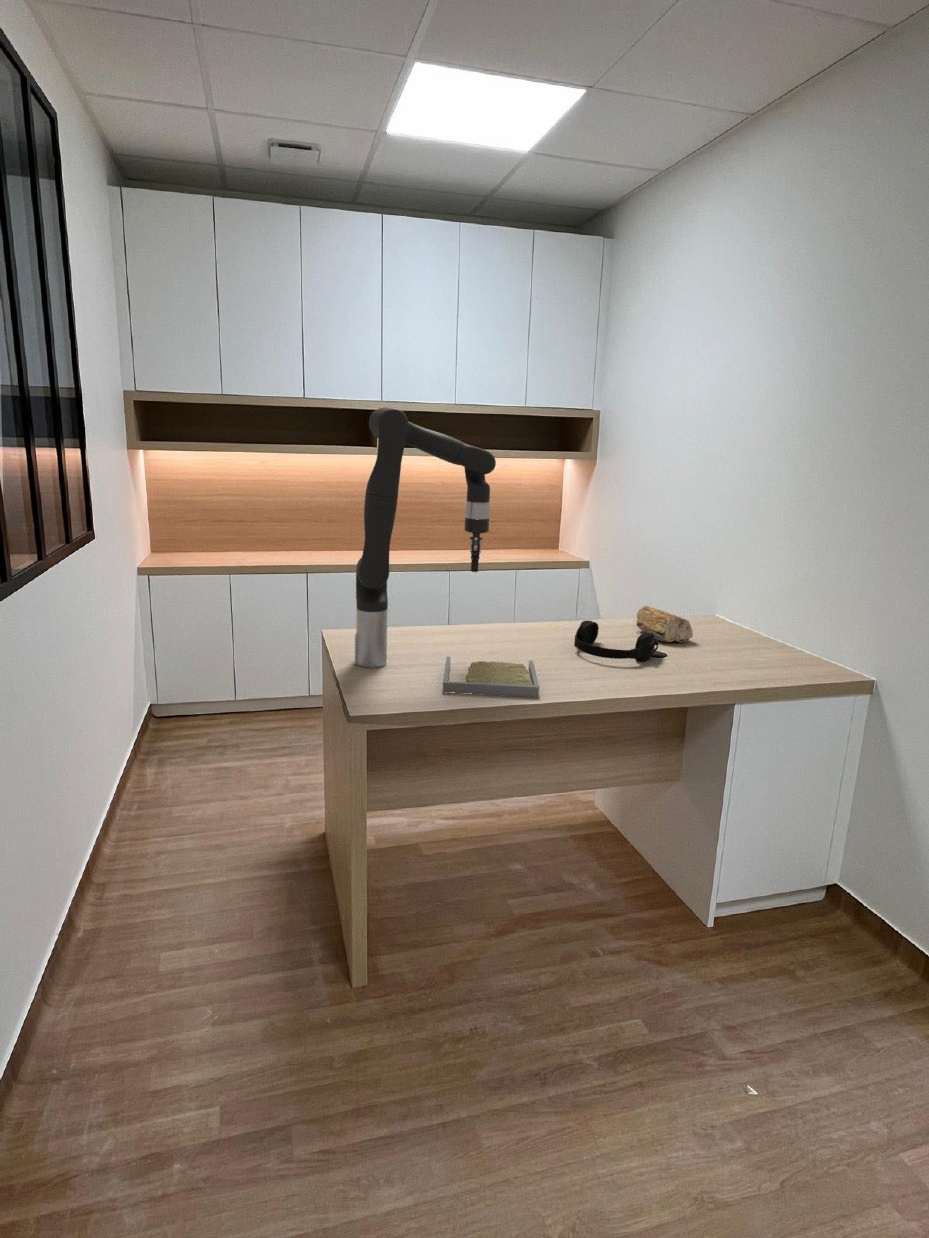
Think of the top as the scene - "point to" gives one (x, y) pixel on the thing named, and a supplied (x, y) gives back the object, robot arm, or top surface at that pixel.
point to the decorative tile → (498, 673)
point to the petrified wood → (664, 625)
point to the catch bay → (492, 685)
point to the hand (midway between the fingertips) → (474, 571)
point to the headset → (641, 652)
